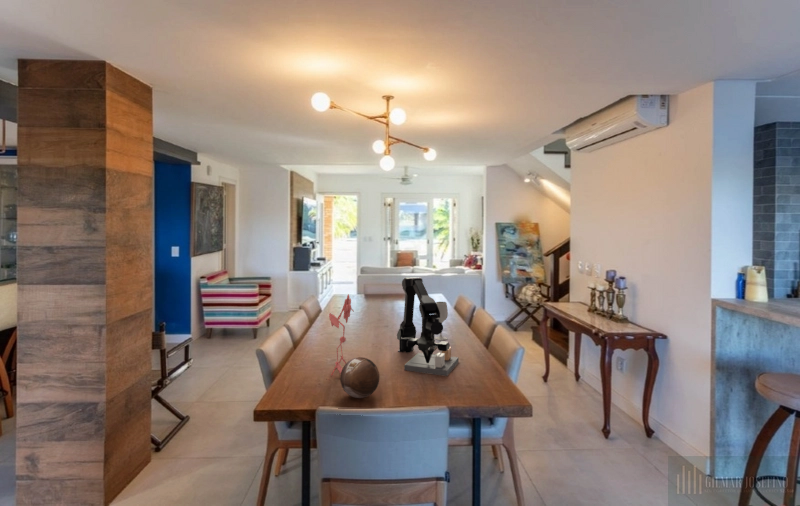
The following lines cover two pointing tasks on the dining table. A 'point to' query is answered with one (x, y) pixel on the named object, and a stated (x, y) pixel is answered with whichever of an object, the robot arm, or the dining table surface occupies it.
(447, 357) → the orange fader
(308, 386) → the dining table surface
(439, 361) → the white fader
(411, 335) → the robot arm
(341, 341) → the figurine
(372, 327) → the dining table surface
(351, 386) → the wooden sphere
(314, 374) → the dining table surface
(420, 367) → the console board
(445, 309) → the wineglass
